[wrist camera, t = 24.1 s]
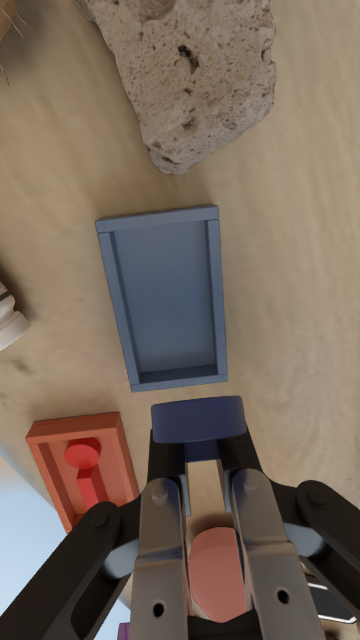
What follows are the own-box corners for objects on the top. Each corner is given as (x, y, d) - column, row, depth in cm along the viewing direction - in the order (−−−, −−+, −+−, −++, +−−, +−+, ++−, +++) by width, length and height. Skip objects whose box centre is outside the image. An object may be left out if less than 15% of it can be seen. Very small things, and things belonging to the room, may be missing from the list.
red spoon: (117, 500, 32) (114, 521, 30) (88, 503, 32) (83, 525, 30) (97, 432, 28) (92, 451, 26) (63, 436, 28) (56, 455, 26)
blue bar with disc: (220, 402, 18) (225, 441, 17) (168, 408, 18) (171, 446, 18) (249, 393, 9) (262, 473, 8) (144, 404, 9) (149, 485, 8)
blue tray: (224, 368, 26) (228, 381, 24) (134, 378, 26) (131, 393, 24) (213, 204, 21) (218, 205, 19) (100, 218, 21) (94, 220, 19)
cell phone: (295, 571, 39) (298, 580, 38) (382, 590, 42) (387, 599, 41) (266, 600, 42) (268, 609, 41) (350, 616, 45) (353, 625, 44)
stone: (-1, -167, 12) (250, -316, 10) (67, -36, 17) (237, -119, 16) (106, 180, 15) (315, 109, 13) (135, 197, 20) (284, 148, 19)
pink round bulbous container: (186, 554, 37) (195, 708, 26) (183, 515, 34) (191, 671, 23) (248, 549, 37) (282, 700, 26) (250, 509, 34) (290, 662, 23)
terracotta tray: (142, 506, 33) (141, 525, 31) (71, 515, 33) (66, 534, 31) (119, 411, 28) (115, 427, 26) (34, 421, 28) (24, 437, 26)
